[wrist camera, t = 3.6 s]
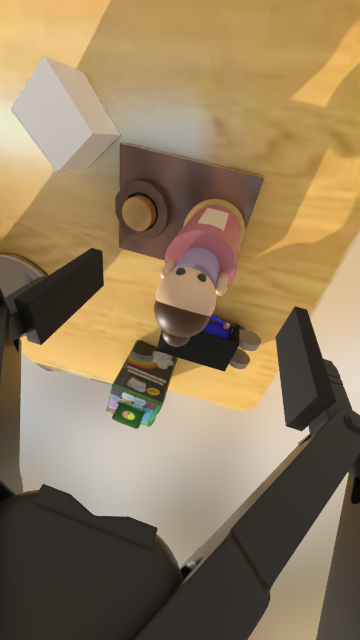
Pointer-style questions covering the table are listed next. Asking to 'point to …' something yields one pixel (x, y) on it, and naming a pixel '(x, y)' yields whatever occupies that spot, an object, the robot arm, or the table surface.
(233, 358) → the figurine character
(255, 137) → the table surface
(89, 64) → the table surface
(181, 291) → the doll
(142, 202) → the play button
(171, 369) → the chalk box
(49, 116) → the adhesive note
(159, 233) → the brown wooden base
